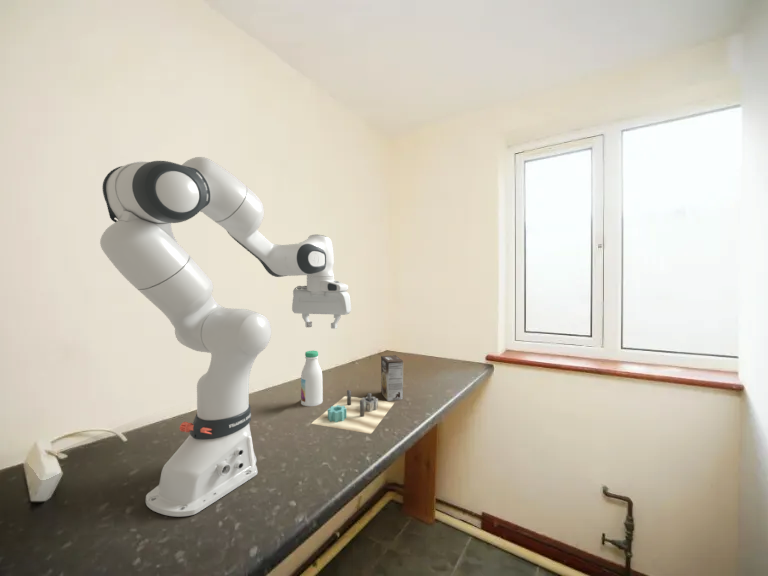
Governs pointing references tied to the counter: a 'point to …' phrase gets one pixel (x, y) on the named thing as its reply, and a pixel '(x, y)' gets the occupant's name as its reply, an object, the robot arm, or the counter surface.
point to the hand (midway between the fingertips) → (321, 327)
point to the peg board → (356, 415)
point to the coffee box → (392, 377)
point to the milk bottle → (311, 381)
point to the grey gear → (370, 404)
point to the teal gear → (337, 413)
